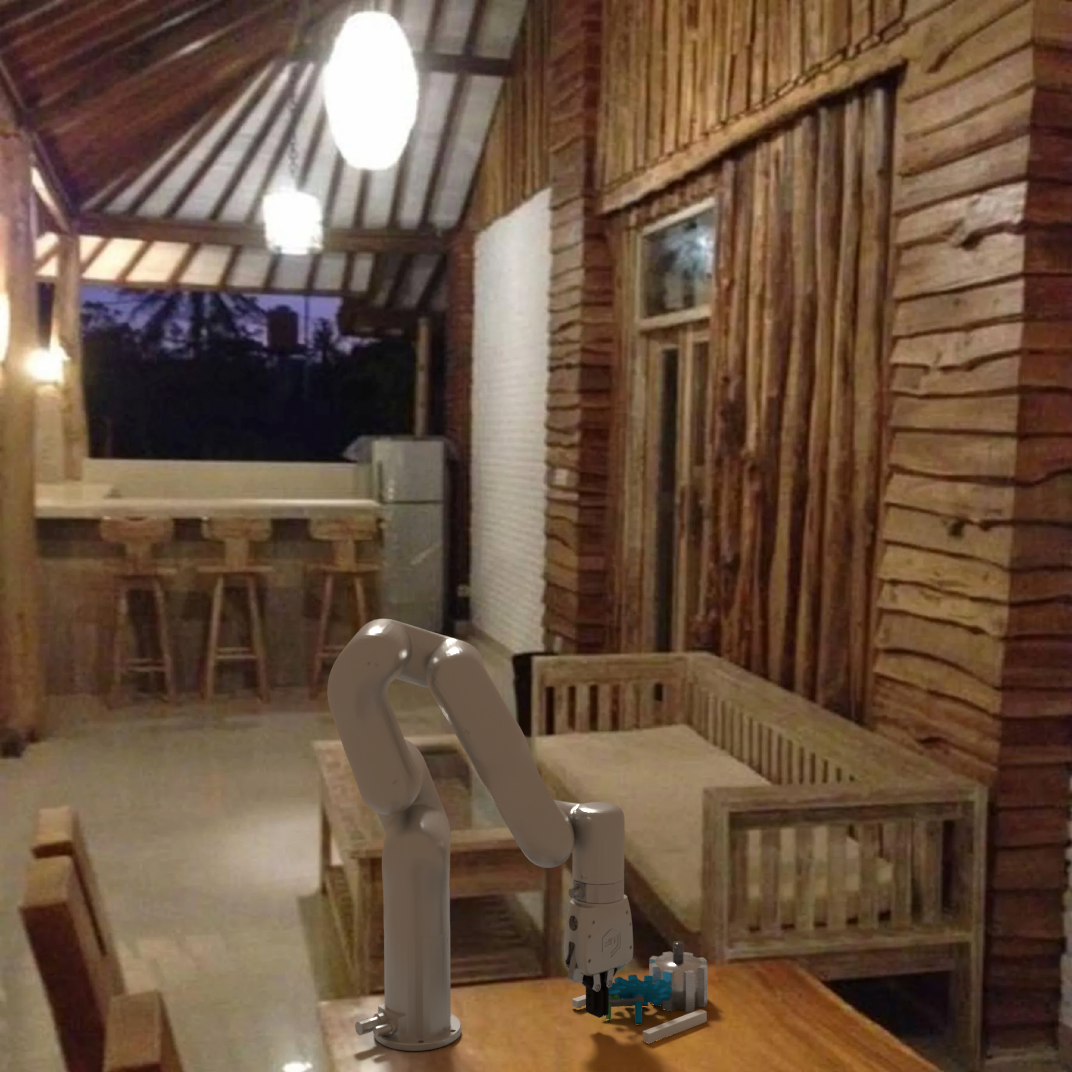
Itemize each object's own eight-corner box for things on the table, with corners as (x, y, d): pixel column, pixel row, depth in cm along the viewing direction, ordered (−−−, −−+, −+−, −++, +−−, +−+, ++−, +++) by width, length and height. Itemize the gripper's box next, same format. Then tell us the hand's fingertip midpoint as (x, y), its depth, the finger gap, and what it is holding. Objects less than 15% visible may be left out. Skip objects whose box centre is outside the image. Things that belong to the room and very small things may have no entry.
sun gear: (678, 1017, 198) (679, 957, 197) (637, 999, 204) (637, 941, 204) (719, 1001, 203) (719, 944, 203) (677, 984, 210) (677, 928, 210)
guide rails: (648, 1044, 188) (648, 1033, 188) (572, 1008, 201) (572, 998, 201) (706, 1021, 196) (706, 1011, 196) (629, 988, 208) (629, 979, 208)
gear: (676, 996, 201) (665, 968, 194) (677, 1035, 197) (666, 1007, 190) (605, 1000, 203) (591, 972, 196) (605, 1039, 199) (590, 1011, 192)
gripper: (577, 906, 184) (576, 1036, 185) (652, 885, 194) (651, 1008, 195) (542, 893, 190) (541, 1019, 191) (616, 873, 200) (615, 993, 201)
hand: (597, 1013), depth 193 cm, fingers closed
